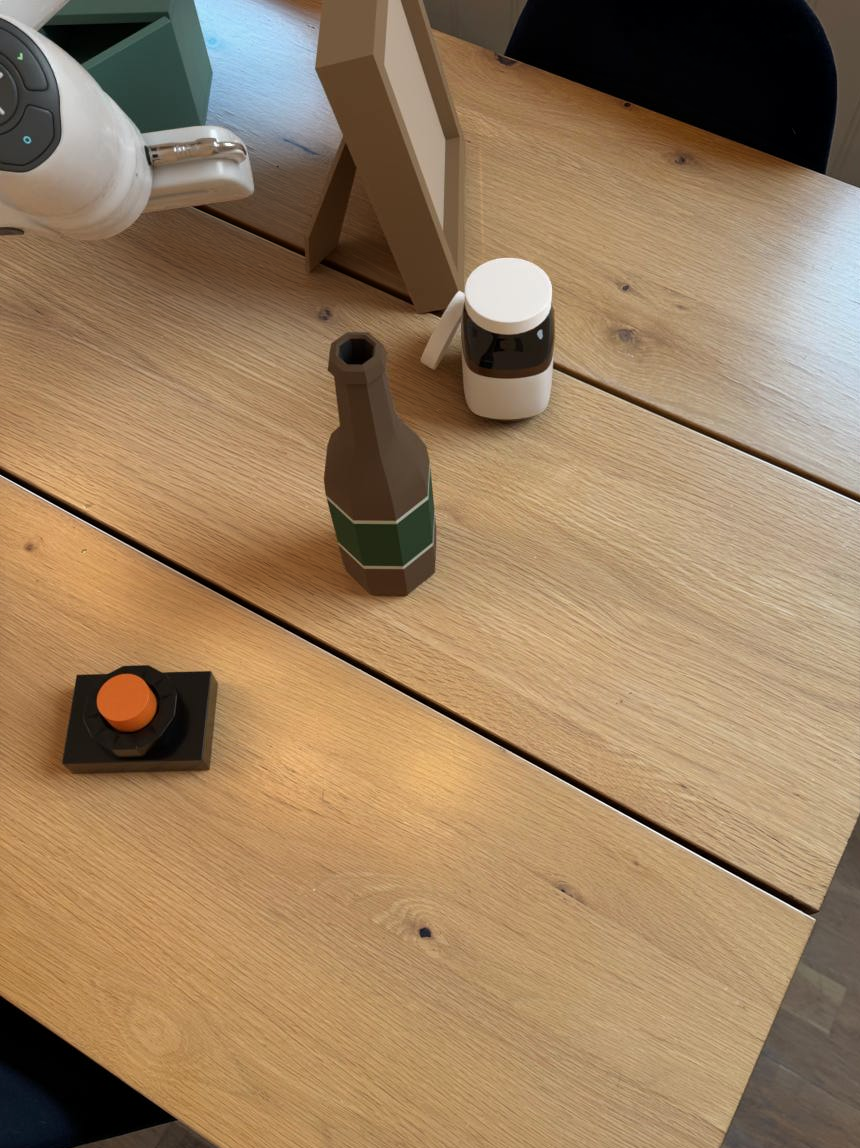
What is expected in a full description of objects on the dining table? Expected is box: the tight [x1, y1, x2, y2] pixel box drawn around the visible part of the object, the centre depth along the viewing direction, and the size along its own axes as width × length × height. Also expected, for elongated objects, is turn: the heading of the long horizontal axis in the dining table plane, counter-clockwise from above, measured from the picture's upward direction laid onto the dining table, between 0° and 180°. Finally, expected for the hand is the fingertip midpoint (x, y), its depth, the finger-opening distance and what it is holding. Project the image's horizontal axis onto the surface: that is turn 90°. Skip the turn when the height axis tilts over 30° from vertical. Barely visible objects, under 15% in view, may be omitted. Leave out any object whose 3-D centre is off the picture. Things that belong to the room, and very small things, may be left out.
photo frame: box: [304, 0, 466, 315], centre depth 90 cm, size 15×22×25 cm
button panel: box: [61, 664, 219, 775], centre depth 76 cm, size 10×7×4 cm
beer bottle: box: [323, 331, 437, 596], centre depth 73 cm, size 8×8×24 cm
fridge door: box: [81, 16, 201, 134], centre depth 98 cm, size 7×13×13 cm, turn 136°
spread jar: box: [420, 257, 556, 422], centre depth 87 cm, size 12×11×12 cm
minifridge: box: [37, 0, 214, 126], centre depth 104 cm, size 10×13×13 cm
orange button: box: [97, 674, 157, 732], centre depth 74 cm, size 4×4×2 cm
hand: (128, 203), depth 80 cm, fingers open, 8 cm apart
